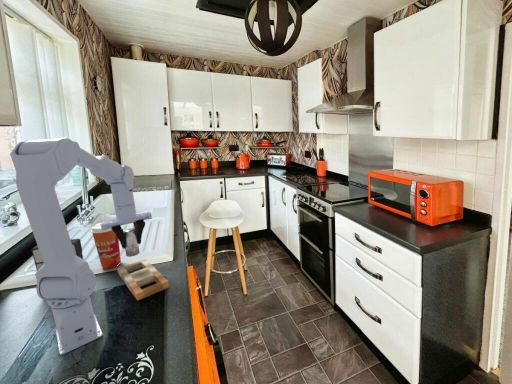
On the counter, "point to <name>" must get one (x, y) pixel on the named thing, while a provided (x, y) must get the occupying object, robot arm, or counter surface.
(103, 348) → the counter surface
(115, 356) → the counter surface
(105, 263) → the coffee cup
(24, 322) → the counter surface
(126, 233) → the peg
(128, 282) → the wooden slotted board
